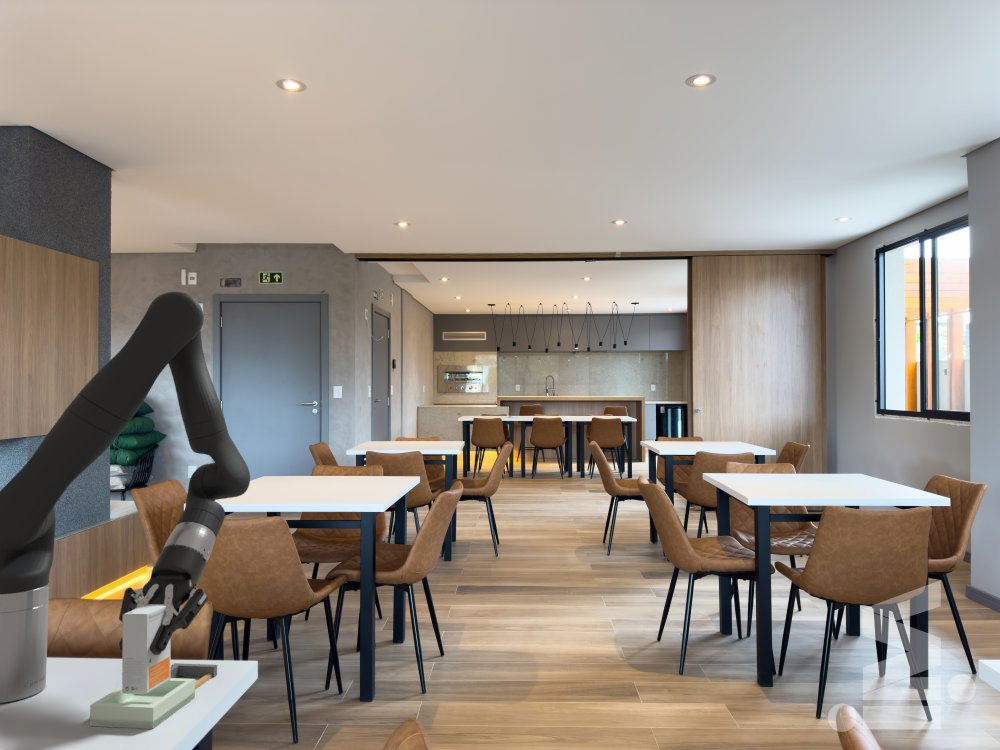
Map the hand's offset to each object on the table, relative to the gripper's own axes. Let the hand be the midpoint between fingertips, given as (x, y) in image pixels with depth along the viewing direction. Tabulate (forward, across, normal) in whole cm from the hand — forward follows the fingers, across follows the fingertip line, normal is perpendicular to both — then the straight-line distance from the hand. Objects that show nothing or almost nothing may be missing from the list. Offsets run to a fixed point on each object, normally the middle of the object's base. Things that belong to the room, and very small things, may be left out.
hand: (139, 651), depth 105 cm
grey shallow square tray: (-2, -1, +16) cm, 16 cm away
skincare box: (+3, 0, +6) cm, 6 cm away
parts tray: (+6, 0, +8) cm, 10 cm away
